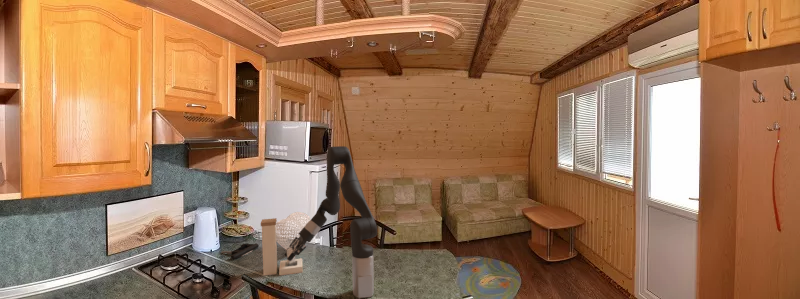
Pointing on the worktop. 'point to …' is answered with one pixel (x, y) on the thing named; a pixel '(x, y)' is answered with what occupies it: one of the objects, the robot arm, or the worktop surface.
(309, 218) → the heart
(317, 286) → the worktop surface
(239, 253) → the door handle
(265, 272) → the slotted post
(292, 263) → the steel pin
